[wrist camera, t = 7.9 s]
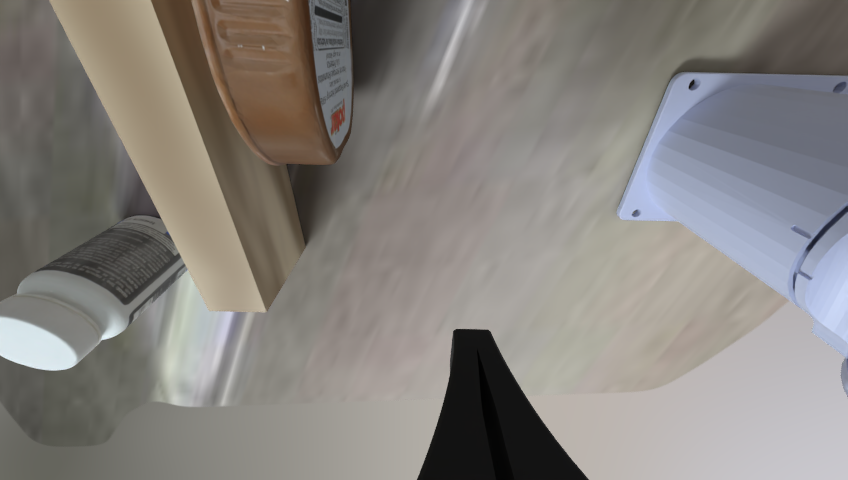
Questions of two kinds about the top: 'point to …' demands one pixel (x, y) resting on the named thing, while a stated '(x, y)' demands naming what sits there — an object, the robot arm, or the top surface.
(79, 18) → the board
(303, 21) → the tin
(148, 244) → the pill bottle
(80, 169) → the top surface
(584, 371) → the top surface
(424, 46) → the top surface
